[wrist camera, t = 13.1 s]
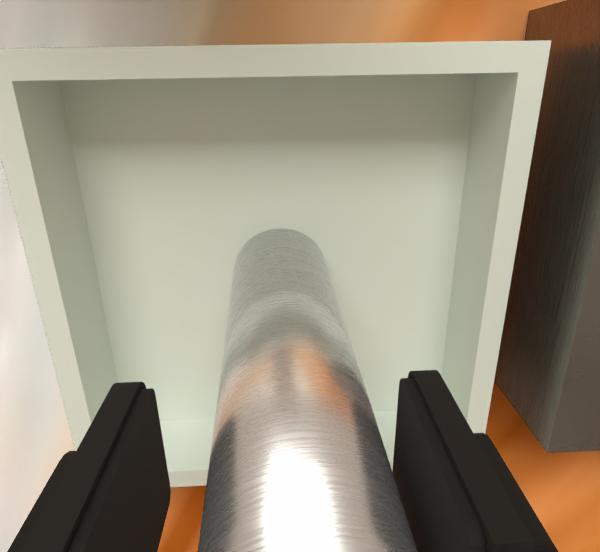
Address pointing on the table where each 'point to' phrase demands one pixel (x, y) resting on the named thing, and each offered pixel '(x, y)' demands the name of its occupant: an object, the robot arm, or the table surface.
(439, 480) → the robot arm
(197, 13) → the table surface
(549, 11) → the hitch block
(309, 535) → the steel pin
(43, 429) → the table surface
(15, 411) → the table surface
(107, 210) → the tray
